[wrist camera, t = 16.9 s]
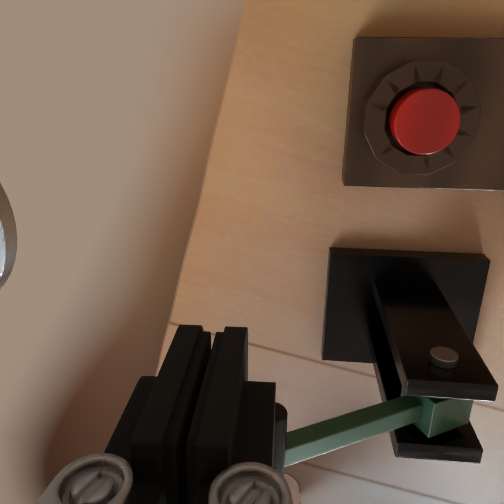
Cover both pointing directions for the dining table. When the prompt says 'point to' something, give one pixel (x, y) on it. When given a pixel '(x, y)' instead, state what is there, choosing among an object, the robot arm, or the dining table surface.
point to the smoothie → (293, 489)
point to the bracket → (412, 334)
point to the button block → (432, 76)
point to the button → (424, 120)
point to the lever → (365, 426)
